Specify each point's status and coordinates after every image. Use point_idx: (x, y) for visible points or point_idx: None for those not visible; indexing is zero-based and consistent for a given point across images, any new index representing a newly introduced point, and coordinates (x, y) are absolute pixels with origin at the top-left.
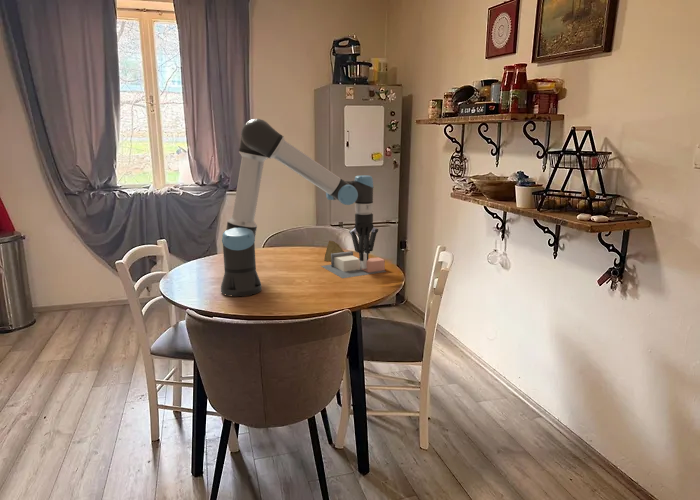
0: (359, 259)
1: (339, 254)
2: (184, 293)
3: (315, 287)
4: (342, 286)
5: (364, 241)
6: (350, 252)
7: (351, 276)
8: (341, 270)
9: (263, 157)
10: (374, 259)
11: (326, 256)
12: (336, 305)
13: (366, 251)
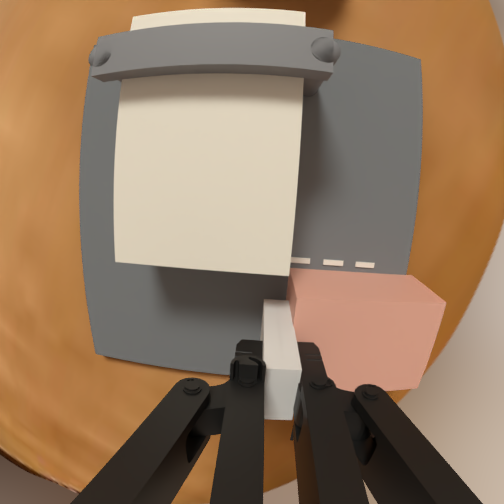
0: (236, 346)
1: (162, 68)
2: None
3: (4, 346)
4: (84, 402)
5: (312, 488)
6: (299, 68)
7: (147, 358)
8: None
9: None
10: (379, 349)
11: None
12: (54, 470)
13: (294, 428)
